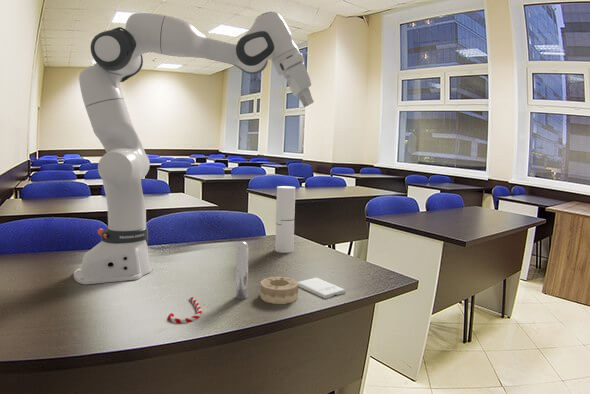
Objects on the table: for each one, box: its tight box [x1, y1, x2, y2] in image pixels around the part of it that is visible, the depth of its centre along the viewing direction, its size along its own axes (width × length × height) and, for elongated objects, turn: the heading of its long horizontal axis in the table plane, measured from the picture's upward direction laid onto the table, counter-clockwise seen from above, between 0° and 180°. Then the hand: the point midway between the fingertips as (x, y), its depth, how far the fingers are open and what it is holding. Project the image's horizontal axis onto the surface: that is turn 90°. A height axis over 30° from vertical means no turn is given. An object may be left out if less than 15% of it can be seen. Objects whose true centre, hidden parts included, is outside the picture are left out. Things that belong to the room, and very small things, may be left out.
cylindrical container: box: [274, 185, 296, 254], centre depth 163 cm, size 7×7×25 cm
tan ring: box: [260, 276, 299, 305], centre depth 116 cm, size 10×10×4 cm
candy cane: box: [167, 296, 203, 324], centre depth 105 cm, size 8×1×15 cm
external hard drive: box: [297, 277, 347, 299], centre depth 123 cm, size 2×8×12 cm
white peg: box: [235, 241, 249, 300], centre depth 114 cm, size 3×3×16 cm
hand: (308, 105), depth 132 cm, fingers open, 8 cm apart
